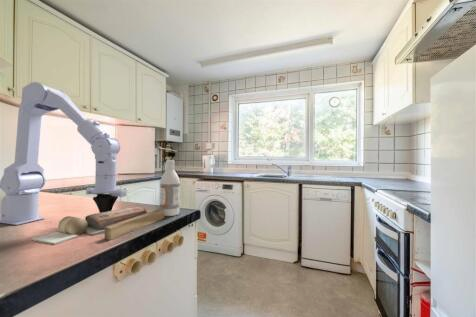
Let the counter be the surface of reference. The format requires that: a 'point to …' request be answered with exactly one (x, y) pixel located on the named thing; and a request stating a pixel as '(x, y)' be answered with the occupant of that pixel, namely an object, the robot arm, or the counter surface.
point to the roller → (72, 225)
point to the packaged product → (110, 219)
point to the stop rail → (133, 224)
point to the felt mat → (55, 238)
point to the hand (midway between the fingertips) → (105, 218)
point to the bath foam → (170, 190)
